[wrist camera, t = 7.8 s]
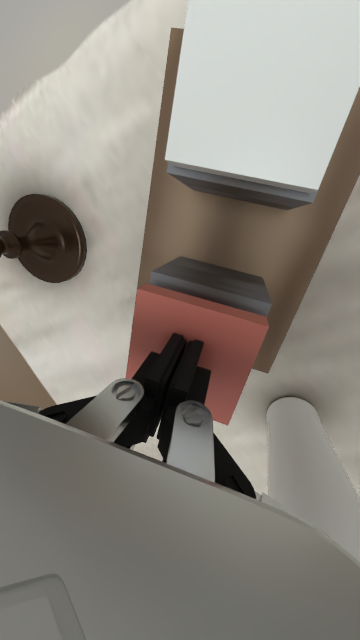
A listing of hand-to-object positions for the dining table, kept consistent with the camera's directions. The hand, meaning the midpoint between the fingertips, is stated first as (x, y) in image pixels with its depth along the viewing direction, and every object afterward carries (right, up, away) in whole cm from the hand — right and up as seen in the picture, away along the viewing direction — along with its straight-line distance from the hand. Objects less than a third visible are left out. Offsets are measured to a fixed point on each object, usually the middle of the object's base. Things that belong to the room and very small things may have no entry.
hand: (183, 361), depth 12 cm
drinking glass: (+13, -8, +14) cm, 21 cm away
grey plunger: (+5, +14, +3) cm, 15 cm away
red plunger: (+2, +3, +7) cm, 8 cm away
